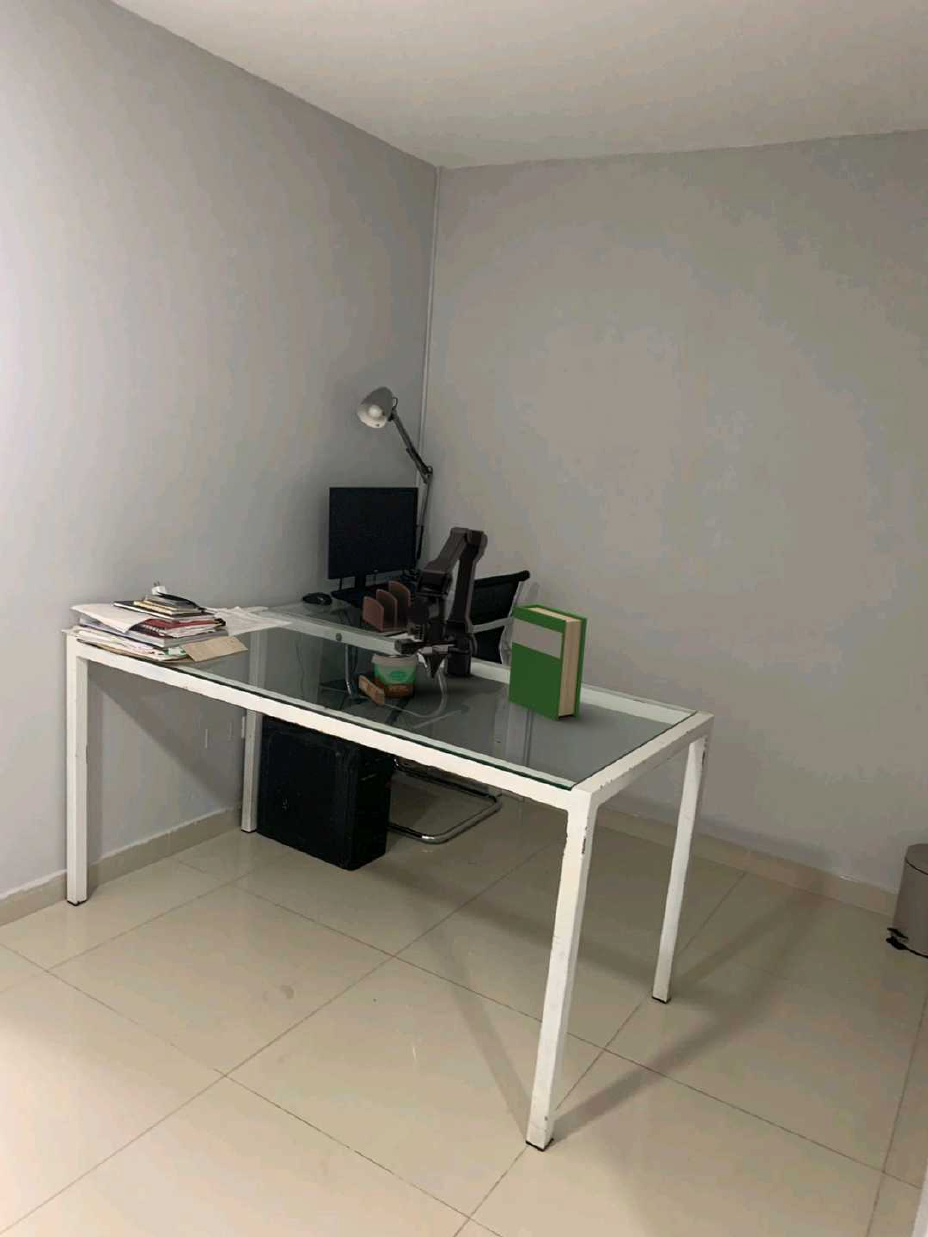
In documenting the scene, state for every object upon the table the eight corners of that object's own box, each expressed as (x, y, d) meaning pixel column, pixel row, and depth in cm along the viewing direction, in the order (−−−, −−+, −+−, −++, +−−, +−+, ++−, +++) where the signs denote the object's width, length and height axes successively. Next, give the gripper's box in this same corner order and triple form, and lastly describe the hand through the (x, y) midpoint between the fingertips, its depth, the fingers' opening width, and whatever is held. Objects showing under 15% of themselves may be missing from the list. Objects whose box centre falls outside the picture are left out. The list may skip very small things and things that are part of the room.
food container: (380, 700, 225) (381, 660, 223) (370, 692, 231) (371, 653, 229) (426, 695, 231) (427, 656, 229) (415, 688, 236) (417, 650, 234)
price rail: (362, 687, 235) (363, 675, 235) (384, 705, 221) (384, 693, 220) (358, 687, 235) (358, 675, 234) (379, 706, 220) (379, 693, 220)
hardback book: (578, 716, 222) (587, 618, 217) (555, 720, 218) (563, 620, 213) (531, 696, 236) (538, 603, 231) (508, 700, 231) (514, 605, 226)
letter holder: (389, 618, 319) (391, 577, 316) (410, 631, 301) (412, 588, 298) (362, 619, 315) (363, 578, 312) (381, 632, 297) (382, 589, 294)
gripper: (455, 609, 241) (452, 667, 245) (387, 612, 234) (385, 672, 237) (473, 618, 232) (470, 678, 235) (403, 621, 224) (401, 684, 227)
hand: (431, 678), depth 234 cm, fingers closed
